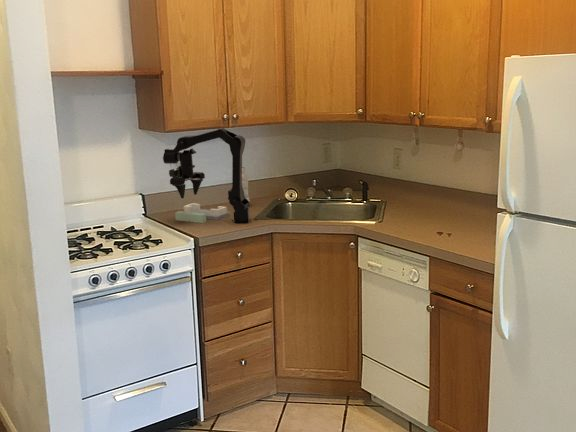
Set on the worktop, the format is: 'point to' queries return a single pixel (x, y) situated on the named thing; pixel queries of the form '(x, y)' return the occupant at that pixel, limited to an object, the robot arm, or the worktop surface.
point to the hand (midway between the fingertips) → (189, 196)
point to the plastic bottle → (245, 183)
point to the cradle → (208, 211)
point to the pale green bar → (190, 216)
